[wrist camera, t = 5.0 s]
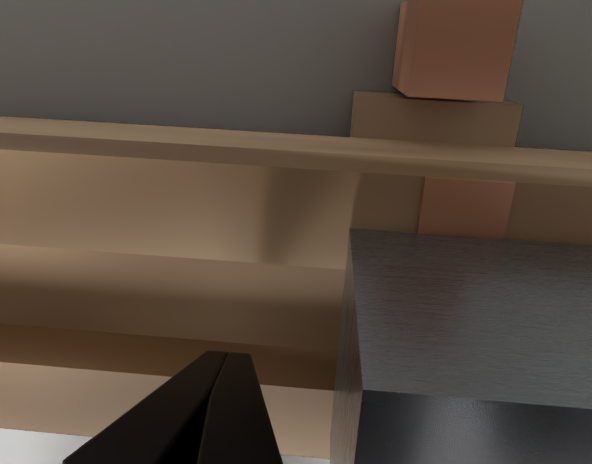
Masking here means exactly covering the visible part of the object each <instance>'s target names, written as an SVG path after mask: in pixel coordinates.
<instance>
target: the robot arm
mask: <svg viewBox="0 0 592 464" xmlns="http://www.w3.org/2000/svg"><path fill="white" fill-rule="evenodd" d="M62 464H283V462H282V459H281V455H280V452H279V448H278V445H277V442H276V438H275V435H274V431H273V428H272V425H271V421H270V418H269V414H268V411H267V408H266V404H265V401H264V397H263V394H262V391H261V387H260V384H259V380H258V377H257V374H256V370H255V367H254V363H253V360H252V357H251V355H250V354H249V353H243V352H227V351H218V350H207V351H205V352H204V353H203V354H201V355H200V356H199V357H197V358H196V359H195V360H194V361H192V362H191V363H190V364H188V365H187V366H186V367H184V368H183V369H182V370H181V371H179V372H178V373H177V374H175V375H174V376H173V377H171V378H170V379H169V380H167V381H166V382H165V383H164V384H162V385H161V386H160V387H158V388H157V389H156V390H154V391H153V392H152V393H150V394H149V395H148V396H147V397H145V398H144V399H143V400H141V401H140V402H139V403H137V404H136V405H135V406H133V407H132V408H131V409H130V410H128V411H127V412H126V413H124V414H123V415H122V416H120V417H119V418H118V419H116V420H115V421H114V422H113V423H111V424H110V425H109V426H107V427H106V428H105V429H103V430H102V431H101V432H100V433H98V434H97V435H96V436H94V437H93V438H92V439H90V440H89V441H88V442H86V443H85V444H84V445H83V446H81V447H80V448H79V449H77V450H76V451H75V452H73V453H72V454H71V455H69V456H68V457H67V458H66V459H64V460H63V462H62Z"/></svg>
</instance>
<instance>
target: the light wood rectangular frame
mask: <svg viewBox="0 0 592 464" xmlns="http://www.w3.org/2000/svg"><path fill="white" fill-rule="evenodd" d="M522 4H523V0H406V1H404V2H402V3H401V7H400V16H399V25H398V33H397V42H396V51H395V59H394V68H393V77H392V86H394V87H395V88H396V89H398V90H399V91H400V92H402V93H389V92H370V91H354V94H353V105H352V117H351V128H350V137H338V136H321V135H305V134H288V133H271V132H255V131H238V130H222V129H205V128H188V127H172V126H155V125H138V124H122V123H105V122H89V121H72V120H55V119H39V118H22V117H5V116H0V428H4V429H15V430H25V431H36V432H47V433H57V434H68V435H78V436H89V437H94V436H96V435H97V434H98V433H100V432H101V431H102V430H103V429H105V428H106V427H107V426H109V425H110V424H111V423H113V422H114V421H115V420H116V419H118V418H119V417H120V416H122V415H123V414H124V413H126V412H127V411H128V410H130V409H131V408H132V407H133V406H135V405H136V404H137V403H139V402H140V401H141V400H143V399H144V398H145V397H147V396H148V395H149V394H150V393H152V392H153V391H154V390H156V389H157V388H158V387H160V386H161V385H162V384H164V383H165V382H166V381H167V380H169V379H170V378H171V377H173V376H174V375H175V374H177V373H178V372H179V371H181V370H182V369H183V368H184V367H186V366H187V365H188V364H190V363H191V362H192V361H194V360H195V359H196V358H197V357H199V356H200V355H201V354H203V353H204V352H205V351H207V350H218V351H227V352H243V353H249V354H250V355H251V357H252V360H253V363H254V367H255V370H256V374H257V377H258V380H259V384H260V387H261V391H262V394H263V397H264V401H265V404H266V408H267V411H268V414H269V418H270V421H271V425H272V428H273V431H274V435H275V438H276V442H277V445H278V448H279V452H280V454H281V455H291V456H302V457H312V458H323V459H330V431H331V420H332V409H333V399H334V388H335V377H336V367H337V356H338V345H339V335H340V324H341V313H342V303H343V292H344V281H345V271H346V260H347V250H348V239H349V228H354V229H368V230H382V231H397V232H411V233H425V234H440V235H454V236H468V237H483V238H497V239H512V240H526V241H540V242H555V243H569V244H583V245H592V152H587V151H571V150H554V149H537V148H521V147H515V143H516V138H517V134H518V129H519V124H520V120H521V115H522V110H523V105H520V104H517V103H514V102H511V101H508V100H505V99H504V95H505V90H506V85H507V80H508V75H509V70H510V65H511V60H512V55H513V50H514V44H515V39H516V34H517V29H518V24H519V19H520V14H521V9H522Z"/></svg>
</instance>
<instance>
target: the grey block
mask: <svg viewBox="0 0 592 464" xmlns="http://www.w3.org/2000/svg"><path fill="white" fill-rule="evenodd" d="M330 464H592V245H583V244H569V243H555V242H540V241H526V240H512V239H497V238H483V237H468V236H454V235H440V234H425V233H411V232H397V231H382V230H368V229H354V228H349V239H348V250H347V260H346V271H345V281H344V292H343V303H342V313H341V324H340V335H339V345H338V356H337V367H336V377H335V388H334V399H333V409H332V420H331V431H330Z"/></svg>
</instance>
